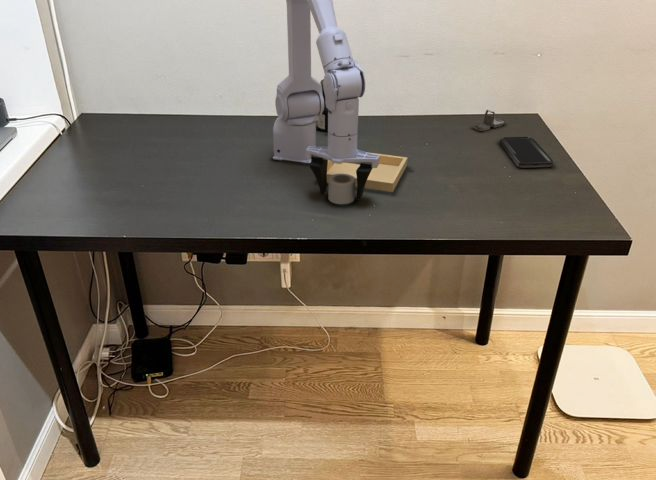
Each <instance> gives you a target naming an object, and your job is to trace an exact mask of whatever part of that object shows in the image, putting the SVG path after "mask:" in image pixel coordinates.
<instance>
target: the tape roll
mask: <svg viewBox="0 0 656 480" xmlns="http://www.w3.org/2000/svg"><path fill="white" fill-rule="evenodd" d="M327 189H328V191H327V194H328V196H327V197H328V198H327V199H328V200H329V202H331V203H333V204H336V205H349V204H351V203H353V202H354V201H355V199H356V187H355V177H354V176H352V175H349V174H344V173H340V174H334V175H332V176H330V177H329V179H328V183H327Z"/></svg>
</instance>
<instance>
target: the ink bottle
mask: <svg viewBox="0 0 656 480" xmlns="http://www.w3.org/2000/svg"><path fill="white" fill-rule="evenodd" d="M323 81H324V78H323V79H321V80H320V81H319V83H320V84H321V86H322V94H323V98H324V110H323V112H322V114H321V116H319V118H318V120H317V121H316V130H317V131H319V132H320V133H327V134H328V108H326V104H325V93H324V88H323Z"/></svg>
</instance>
